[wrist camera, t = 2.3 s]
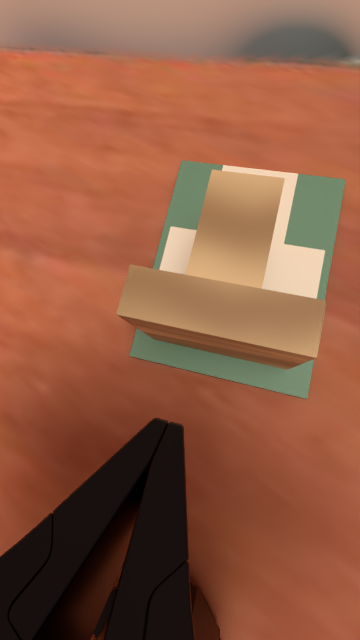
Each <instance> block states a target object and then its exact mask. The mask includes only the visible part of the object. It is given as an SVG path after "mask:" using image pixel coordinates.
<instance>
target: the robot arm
mask: <svg viewBox="0 0 360 640" xmlns="http://www.w3.org/2000/svg"><path fill="white" fill-rule="evenodd" d="M124 560H125V561H124ZM188 560H189V550H188V525H187V499H186V474H185V449H184V427H183V425H181V424H178V423H174V422H170V423H169V422H168V421H167V420H163V419H159V418H154V419H152V420H151V421H150V422H149V423H148V424H147V425H146V426H145V427H144V428H143V429H142V430H140V431H139V432H138V433H137V434H136V435H135V436H134V437H133V438H132V439H131V440H130V441H128V442H127V443H126V444H125V445H124V446H123V447H122V448H121V449H120V450H119V451H118V452H117V453H115V454H114V455H113V456H112V457H111V458H110V459H109V460H108V461H107V462H106V463H105V464H103V465H102V466H101V467H100V468H99V469H98V470H97V471H96V472H95V473H94V474H93V475H92V476H90V477H89V478H88V479H87V480H86V481H85V482H84V483H83V484H82V485H81V486H80V487H78V488H77V489H76V490H75V491H74V492H73V493H72V494H71V495H70V496H69V497H68V498H67V499H65V500H64V501H63V502H62V503H61V504H60V505H59V506H58V507H57V508H56V509H55V510H54V511H53V513H50V514H49V515H48V516H47V517H46V518H45V519H44V520H42V521H41V522H40V523H39V524H38V525H37V526H36V527H35V528H34V529H32V530H31V531H30V532H29V533H28V534H27V535H26V536H24V537H23V538H22V539H21V540H20V541H19V542H18V543H16V544H15V545H14V546H13V547H11V548H10V549H9V550H8V551H6V552H5V553H4V554H3V555H1V556H0V640H90V639H91V637H92V634H93V632H94V635H95V637H96V640H220V638H219V636H220V629H219V627H218V625H217V623H216V621H215V619H214V617H213V615H212V613H211V611H210V609H209V607H208V605H207V603H206V601H205V599H204V597H203V595H202V593H201V592H200V590H199V588H198V587H197V586H195V585H192V583H191V581H190V571H189V562H188ZM123 563H124V565H123ZM122 565H123V568H122V572H121V576H120V580H119V583H118V586H116V587H114V588H113V586H114V583H115V581H116V579H117V576H118V574H119V572H120V570H121V567H122ZM112 588H113V589H112Z"/></svg>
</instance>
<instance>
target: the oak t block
mask: <svg viewBox="0 0 360 640" xmlns="http://www.w3.org/2000/svg"><path fill="white" fill-rule="evenodd" d="M284 180H285V178H279V177H271V176H262V175H254V174H246V173H237V172H229V171H220V170H212V171H211V175H210V179H209V183H208V187H207V191H206V195H205V199H204V203H203V207H202V211H201V215H200V219H199V223H198V227H197V231H196V235H195V239H194V243H193V247H192V251H191V255H190V259H189V263H188V267H187V271H186V275H185V274H179V273H174V272H168V271H163V270H158V269H152V268H147V267H141V266H136V265H130V267H129V270H128V274H127V278H126V281H125V285H124V288H123V292H122V295H121V299H120V302H119V306H118V310H117V313H116V315H118V316H119V317H121V318H122V319H124V320H126V321H127V322H129V323H130V324H132V325H133V326H135V327H136V328H138V329H139V330H141V331H142V332H144V333H145V334H147V335H148V336H150V337H151V338H153V339H155V340H158V341H163V342H167V343H171V344H176V345H180V346H184V347H189V348H193V349H198V350H202V351H206V352H211V353H215V354H220V355H224V356H228V357H233V358H237V359H242V360H246V361H250V362H255V363H259V364H263V365H268V366H272V367H277V368H281V369H285V370H288V369H291V368H293V367H296V366H298V365H301V364H303V363H306V362H308V361H311V360H313V359H315V358H317V354H318V348H319V342H320V337H321V331H322V325H323V320H324V314H325V308H326V302H327V301H326V300H320V299H315V298H310V297H304V296H299V295H293V294H288V293H282V292H277V291H272V290H266V289H262V285H263V280H264V276H265V271H266V266H267V261H268V256H269V252H270V247H271V242H272V237H273V233H274V228H275V223H276V218H277V213H278V209H279V204H280V199H281V194H282V190H283V185H284Z"/></svg>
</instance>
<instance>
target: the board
mask: <svg viewBox="0 0 360 640" xmlns="http://www.w3.org/2000/svg"><path fill="white" fill-rule="evenodd" d="M212 170H220V171H229V172H237V173H246V174H254V175H262V176H271V177H279V178H285V180H284V185H283V190H282V194H281V199H280V204H279V209H278V213H277V218H276V223H275V228H274V233H273V237H272V242H271V247H270V252H269V256H268V261H267V266H266V271H265V276H264V280H263V285H262V289H266V290H272V291H277V292H282V293H288V294H293V295H299V296H304V297H310V298H315V299H320V300H325V294H326V289H327V283H328V277H329V272H330V266H331V260H332V255H333V249H334V243H335V237H336V232H337V226H338V220H339V215H340V209H341V203H342V198H343V192H344V186H345V180H346V179H338V178H330V177H321V176H312V175H304V174H295V173H286V172H278V171H269V170H260V169H252V168H243V167H234V166H226V165H217V164H208V163H200V162H191V161H182V162H181V165H180V169H179V173H178V176H177V180H176V184H175V188H174V191H173V195H172V199H171V202H170V206H169V210H168V214H167V217H166V221H165V225H164V229H163V232H162V236H161V240H160V243H159V247H158V251H157V255H156V258H155V262H154V266H153V269H158V270H163V271H168V272H174V273H179V274H185V275H186V271H187V267H188V263H189V259H190V255H191V251H192V247H193V243H194V239H195V235H196V231H197V227H198V223H199V219H200V215H201V211H202V207H203V203H204V199H205V195H206V191H207V187H208V183H209V179H210V175H211V171H212ZM129 356H131V357H135V358H139V359H143V360H147V361H151V362H155V363H160V364H164V365H168V366H172V367H176V368H180V369H184V370H188V371H193V372H197V373H201V374H205V375H209V376H213V377H217V378H222V379H226V380H230V381H234V382H238V383H242V384H246V385H251V386H255V387H259V388H263V389H267V390H271V391H275V392H279V393H284V394H288V395H292V396H296V397H300V398H304V399H307V397H308V391H309V386H310V380H311V374H312V368H313V363H314V359H313V360H311V361H308V362H306V363H303V364H301V365H298V366H296V367H293V368H291V369H288V370H285V369H281V368H277V367H272V366H268V365H263V364H259V363H255V362H250V361H246V360H242V359H237V358H233V357H228V356H224V355H220V354H215V353H211V352H206V351H202V350H198V349H193V348H189V347H184V346H180V345H176V344H171V343H167V342H163V341H158V340H155V339H153V338H151V337H150V336H148V335H147V334H145V333H144V332H142V331H141V330H139V329H138V328H137V329H136V333H135V336H134V340H133V344H132V348H131V351H130V355H129Z"/></svg>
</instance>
